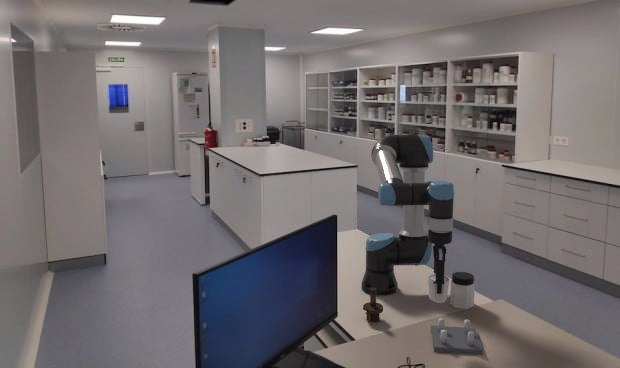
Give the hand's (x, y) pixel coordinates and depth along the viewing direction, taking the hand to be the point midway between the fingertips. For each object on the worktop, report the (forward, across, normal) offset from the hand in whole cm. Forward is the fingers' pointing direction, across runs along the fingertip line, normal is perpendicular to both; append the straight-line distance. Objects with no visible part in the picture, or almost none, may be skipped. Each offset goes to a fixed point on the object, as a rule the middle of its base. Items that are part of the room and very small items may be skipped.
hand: (438, 297), depth 165 cm
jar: (+15, -31, +11) cm, 36 cm away
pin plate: (+15, -1, +6) cm, 16 cm away
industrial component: (+16, -13, -21) cm, 29 cm away
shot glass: (+1, 0, 0) cm, 1 cm away
